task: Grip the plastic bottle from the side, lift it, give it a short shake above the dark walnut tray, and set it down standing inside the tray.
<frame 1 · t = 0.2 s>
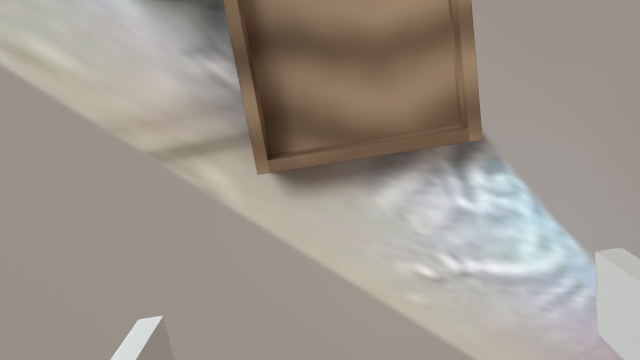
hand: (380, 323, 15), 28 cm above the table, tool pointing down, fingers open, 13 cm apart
walnut tray: (350, 42, 39), on the table
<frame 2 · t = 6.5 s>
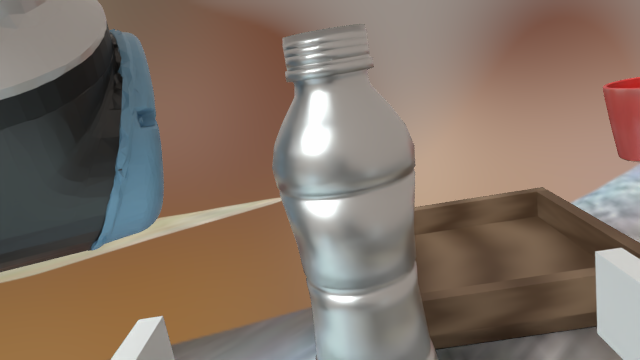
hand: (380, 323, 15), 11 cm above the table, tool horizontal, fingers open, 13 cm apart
walnut tray: (483, 274, 39), on the table
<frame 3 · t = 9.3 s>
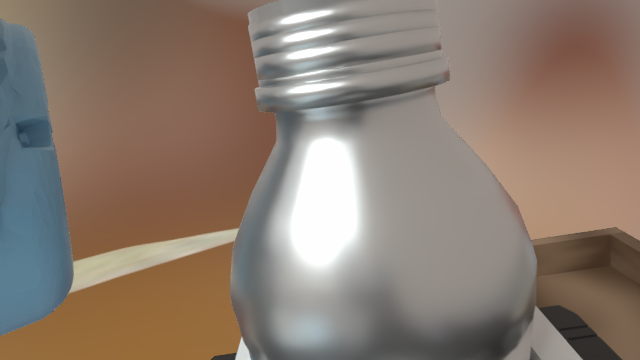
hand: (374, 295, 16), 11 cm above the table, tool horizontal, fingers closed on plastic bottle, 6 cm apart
walnut tray: (552, 358, 28), on the table
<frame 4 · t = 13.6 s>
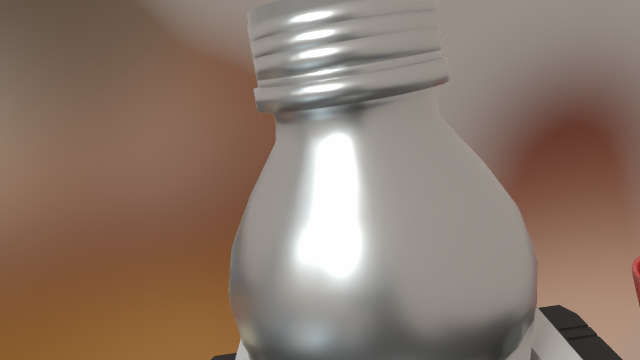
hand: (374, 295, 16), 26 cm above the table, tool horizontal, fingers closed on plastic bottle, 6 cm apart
when the fingers open (13 cm above the table, at t = 18.1 s): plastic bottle stays where it is, resting on walnut tray.
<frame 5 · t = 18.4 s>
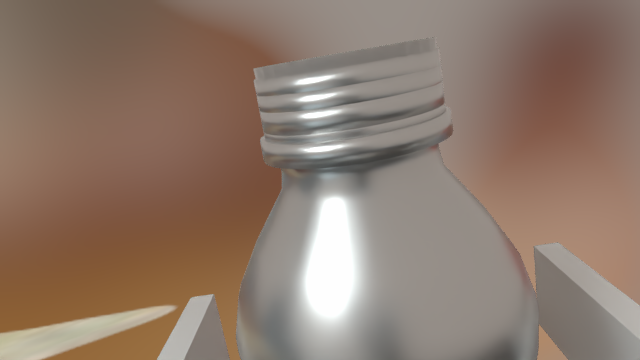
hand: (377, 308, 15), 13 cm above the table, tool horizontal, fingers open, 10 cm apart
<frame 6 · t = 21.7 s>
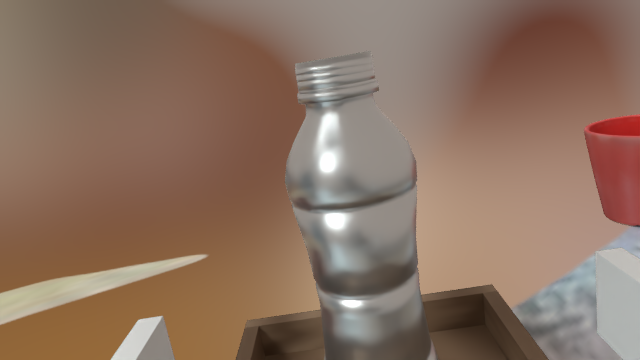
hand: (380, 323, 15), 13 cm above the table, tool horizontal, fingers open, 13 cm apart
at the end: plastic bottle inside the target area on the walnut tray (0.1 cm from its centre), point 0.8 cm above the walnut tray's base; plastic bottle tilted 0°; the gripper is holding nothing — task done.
